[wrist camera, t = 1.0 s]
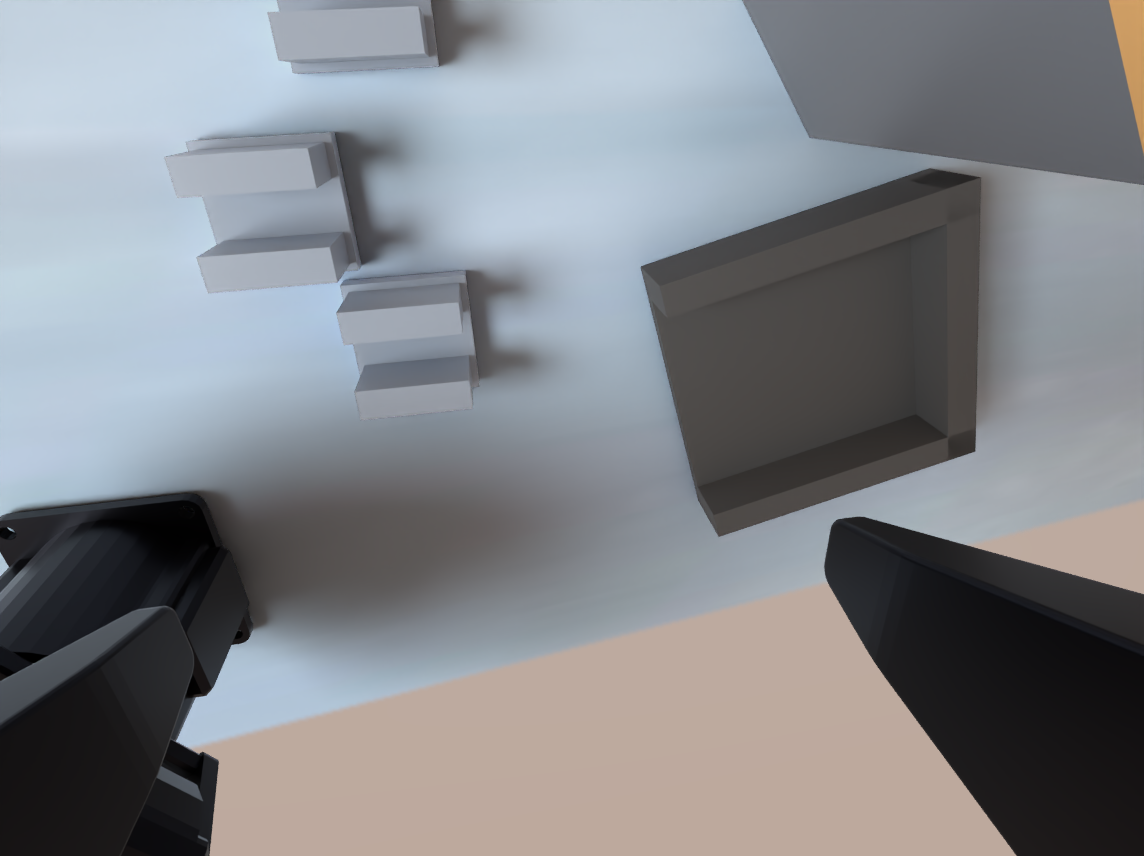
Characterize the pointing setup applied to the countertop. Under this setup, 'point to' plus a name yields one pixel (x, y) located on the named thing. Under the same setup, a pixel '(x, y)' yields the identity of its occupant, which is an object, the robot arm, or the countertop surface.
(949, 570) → the robot arm
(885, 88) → the connector
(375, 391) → the clips
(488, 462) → the countertop surface
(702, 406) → the dark grey square tray
